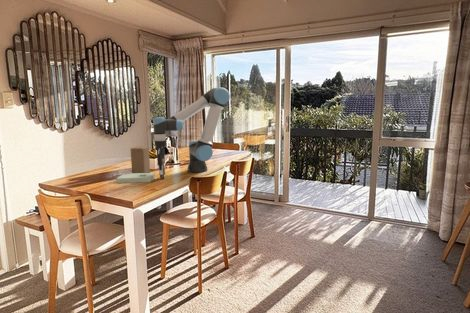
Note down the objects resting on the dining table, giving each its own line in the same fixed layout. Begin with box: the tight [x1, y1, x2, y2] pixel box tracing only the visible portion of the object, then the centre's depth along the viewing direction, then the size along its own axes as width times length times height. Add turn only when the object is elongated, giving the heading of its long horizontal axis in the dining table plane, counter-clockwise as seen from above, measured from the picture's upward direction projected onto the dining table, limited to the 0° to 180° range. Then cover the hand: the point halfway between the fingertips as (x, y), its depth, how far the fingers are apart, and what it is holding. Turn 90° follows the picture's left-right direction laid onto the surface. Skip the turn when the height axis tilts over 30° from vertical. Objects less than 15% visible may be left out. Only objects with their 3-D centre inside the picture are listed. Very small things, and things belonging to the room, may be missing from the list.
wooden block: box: [129, 145, 151, 173], centre depth 221 cm, size 10×10×20 cm
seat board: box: [116, 172, 156, 184], centre depth 205 cm, size 22×14×3 cm, turn 91°
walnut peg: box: [159, 158, 166, 180], centre depth 206 cm, size 4×4×14 cm
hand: (161, 173), depth 207 cm, fingers closed on walnut peg, 4 cm apart
